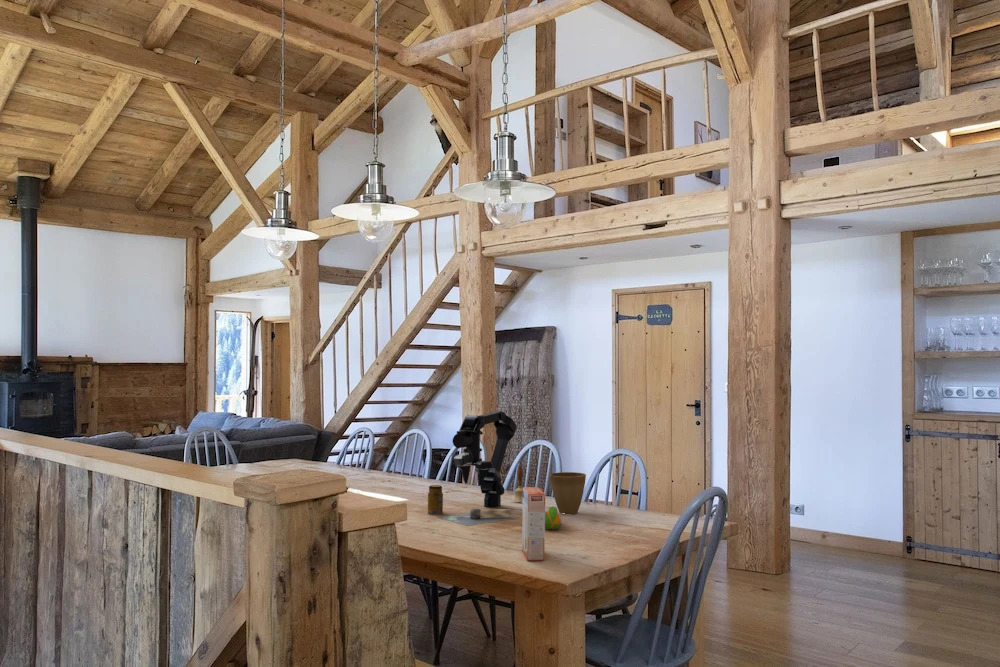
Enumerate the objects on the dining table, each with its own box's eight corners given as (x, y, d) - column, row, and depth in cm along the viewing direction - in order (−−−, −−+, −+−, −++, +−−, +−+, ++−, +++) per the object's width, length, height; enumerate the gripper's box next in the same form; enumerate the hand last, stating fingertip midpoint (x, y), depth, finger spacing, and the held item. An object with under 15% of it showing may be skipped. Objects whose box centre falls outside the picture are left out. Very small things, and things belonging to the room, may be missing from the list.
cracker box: (545, 561, 236) (546, 493, 236) (526, 561, 235) (526, 493, 236) (539, 550, 250) (540, 486, 250) (521, 550, 249) (521, 486, 250)
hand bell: (508, 502, 336) (508, 466, 337) (514, 499, 344) (514, 464, 345) (526, 504, 333) (526, 467, 334) (531, 500, 341) (531, 465, 342)
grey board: (487, 512, 314) (487, 509, 314) (519, 519, 299) (519, 517, 299) (436, 520, 297) (436, 517, 297) (467, 528, 282) (467, 525, 282)
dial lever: (510, 516, 300) (510, 507, 300) (511, 518, 296) (511, 509, 296) (449, 517, 296) (449, 509, 296) (450, 519, 292) (450, 511, 293)
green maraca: (542, 511, 277) (541, 501, 297) (540, 532, 277) (540, 520, 297) (562, 512, 277) (560, 502, 297) (560, 533, 276) (559, 522, 296)
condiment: (437, 513, 311) (437, 484, 312) (449, 516, 305) (449, 486, 305) (422, 515, 307) (422, 485, 307) (434, 518, 300) (434, 488, 301)
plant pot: (587, 510, 319) (587, 472, 320) (584, 517, 304) (584, 477, 305) (551, 509, 322) (551, 471, 322) (547, 515, 307) (547, 476, 308)
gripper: (443, 445, 313) (443, 483, 313) (471, 449, 299) (471, 489, 298) (465, 443, 320) (464, 481, 320) (493, 447, 306) (493, 486, 305)
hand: (472, 484), depth 311 cm, fingers open, 9 cm apart
